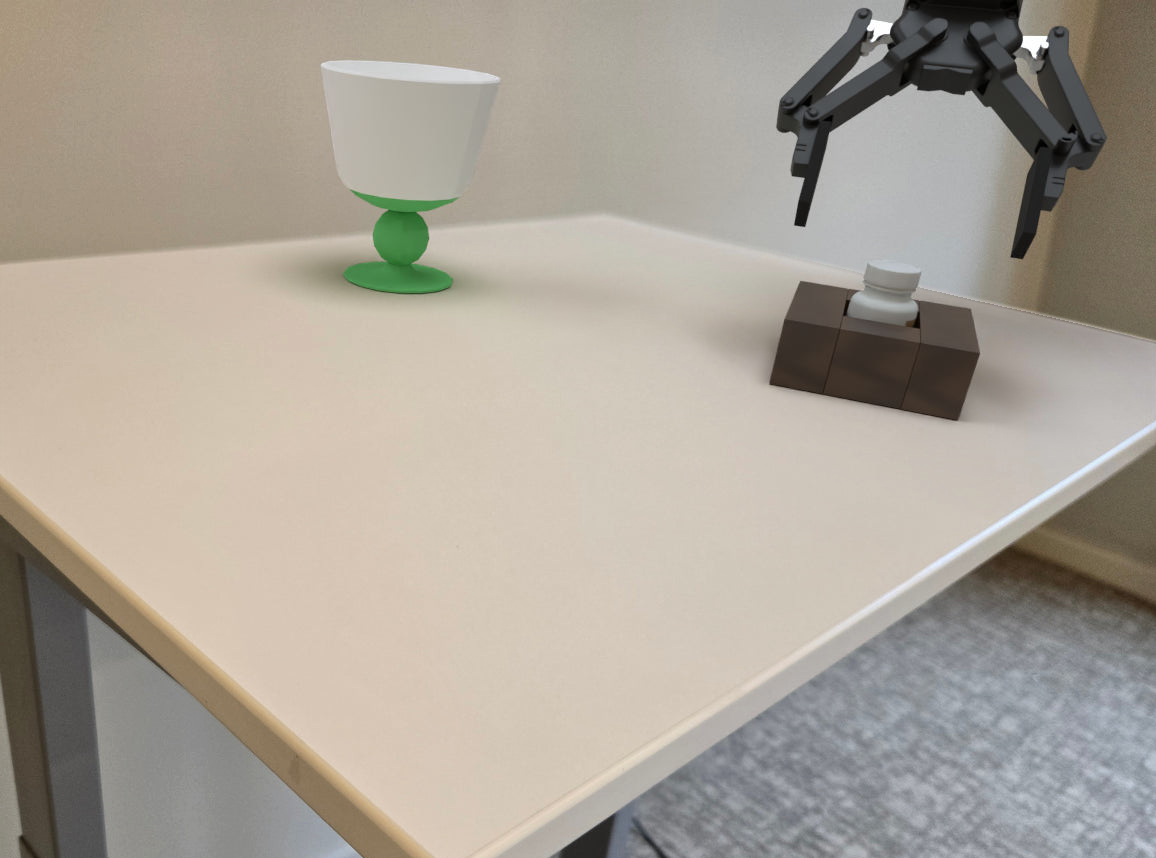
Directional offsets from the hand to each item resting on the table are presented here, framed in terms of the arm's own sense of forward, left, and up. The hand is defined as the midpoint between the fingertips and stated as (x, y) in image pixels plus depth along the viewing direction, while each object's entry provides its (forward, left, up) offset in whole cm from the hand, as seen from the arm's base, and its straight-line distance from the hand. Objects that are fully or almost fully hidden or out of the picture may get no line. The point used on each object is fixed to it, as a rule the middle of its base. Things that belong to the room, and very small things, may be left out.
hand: (909, 230), depth 70 cm
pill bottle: (0, -1, -10) cm, 10 cm away
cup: (+37, -4, -10) cm, 39 cm away
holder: (0, -1, -10) cm, 10 cm away
